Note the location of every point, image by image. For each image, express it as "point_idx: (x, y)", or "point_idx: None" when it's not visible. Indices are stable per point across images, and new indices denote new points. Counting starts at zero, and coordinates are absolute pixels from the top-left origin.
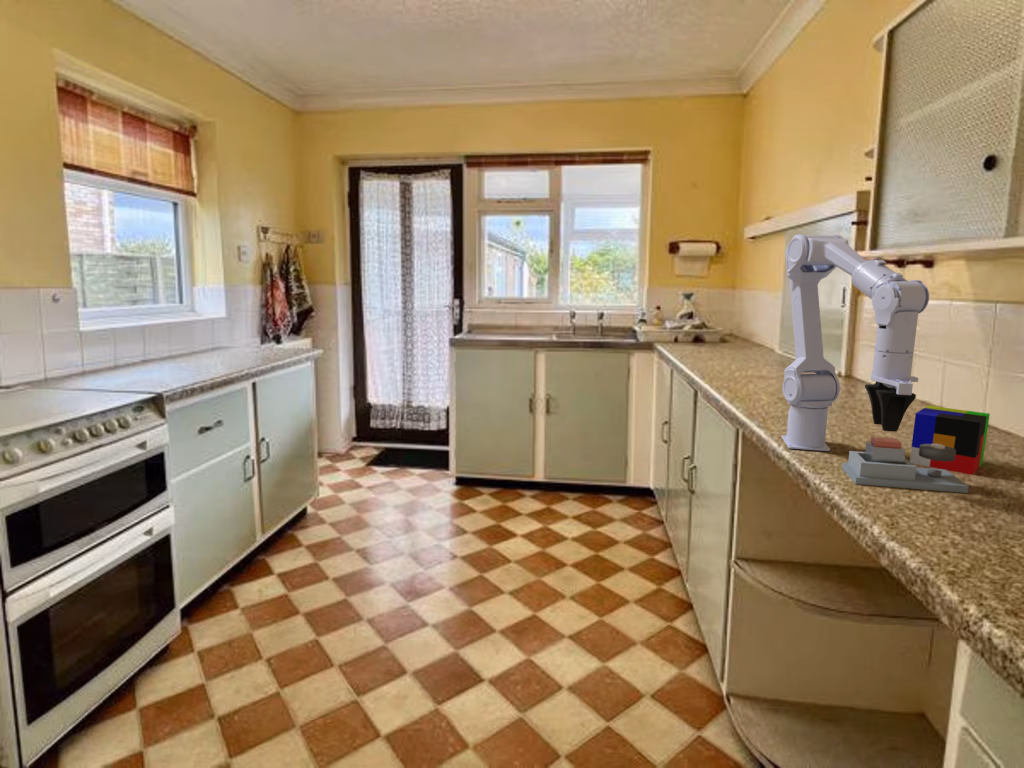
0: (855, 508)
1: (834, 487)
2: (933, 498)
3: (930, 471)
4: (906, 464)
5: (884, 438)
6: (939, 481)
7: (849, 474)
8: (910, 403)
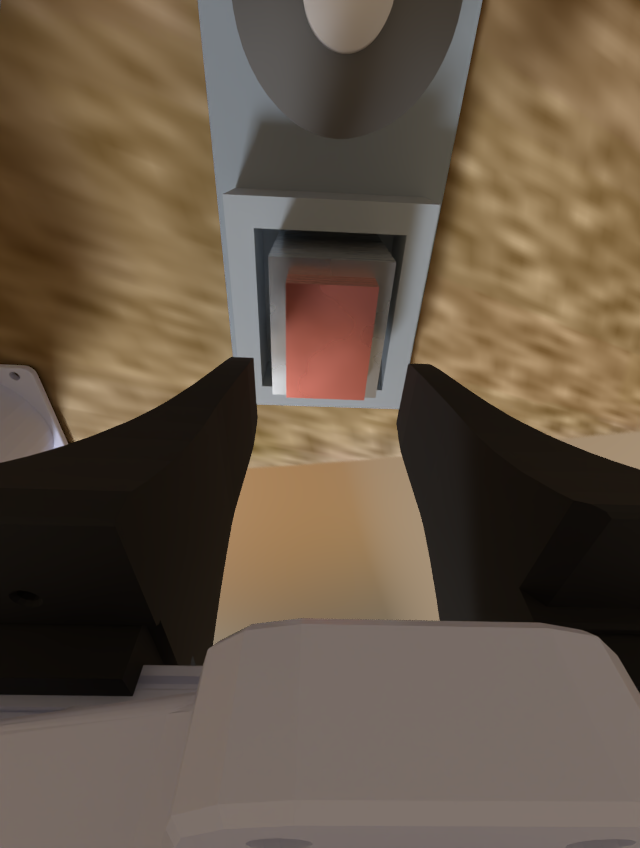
0: (586, 434)
1: None
2: (542, 165)
3: None
4: (390, 233)
5: (300, 345)
6: None
7: None
8: (630, 471)
